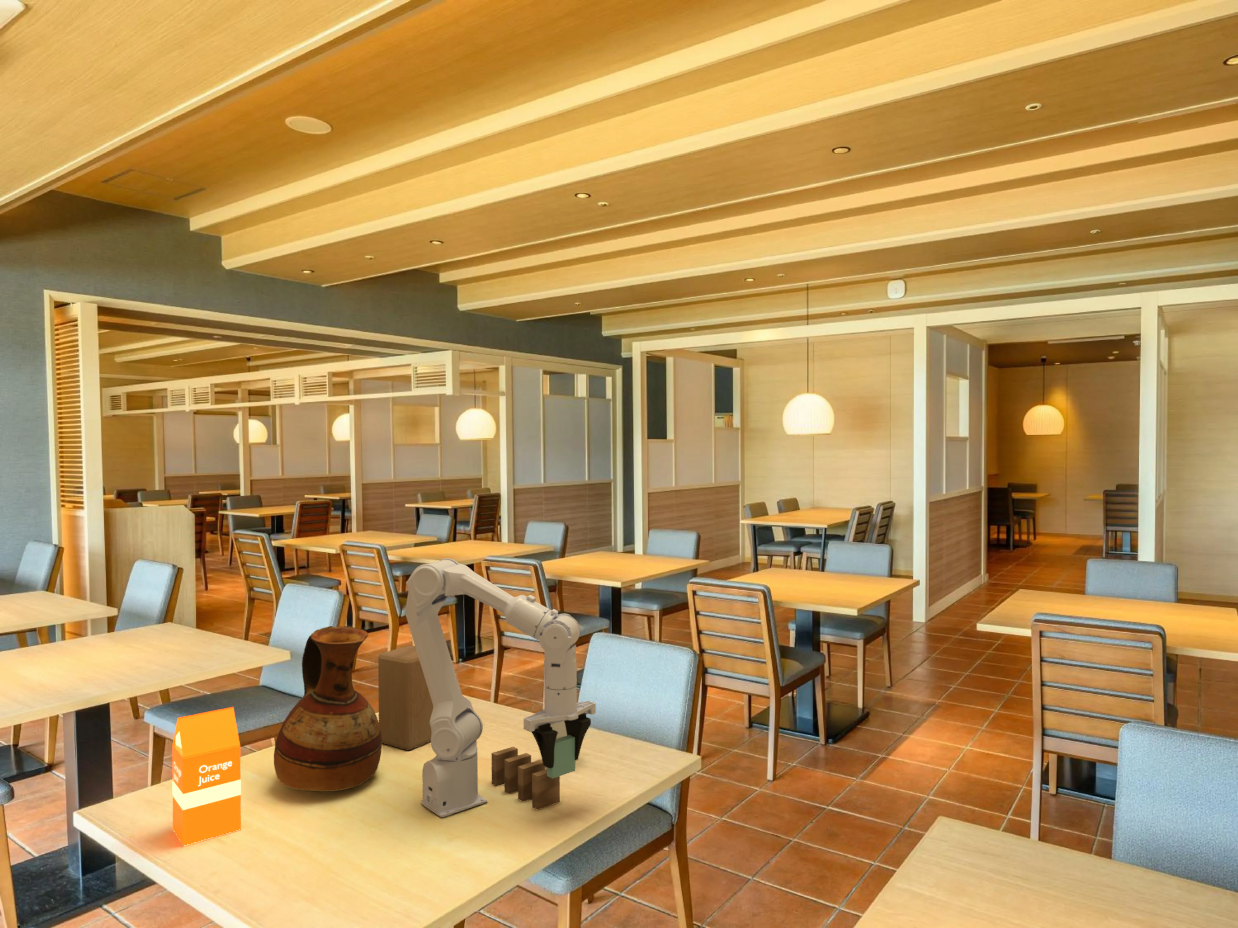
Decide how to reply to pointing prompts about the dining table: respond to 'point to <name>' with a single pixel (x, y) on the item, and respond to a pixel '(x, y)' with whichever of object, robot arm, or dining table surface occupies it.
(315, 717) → the ceramic pitcher
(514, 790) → the domino
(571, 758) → the green domino
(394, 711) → the wooden block
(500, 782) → the domino
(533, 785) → the domino
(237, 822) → the orange juice
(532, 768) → the domino
